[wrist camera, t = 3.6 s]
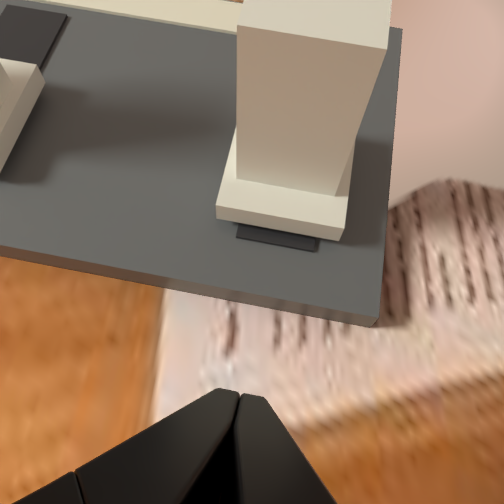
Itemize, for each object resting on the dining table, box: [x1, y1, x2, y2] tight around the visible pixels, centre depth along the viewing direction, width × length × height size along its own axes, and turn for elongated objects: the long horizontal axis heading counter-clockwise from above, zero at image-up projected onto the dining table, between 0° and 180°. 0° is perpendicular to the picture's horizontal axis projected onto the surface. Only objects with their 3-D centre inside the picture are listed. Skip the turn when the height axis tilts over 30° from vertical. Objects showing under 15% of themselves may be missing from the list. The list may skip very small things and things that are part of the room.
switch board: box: [0, 0, 403, 328], centre depth 26 cm, size 18×26×2 cm
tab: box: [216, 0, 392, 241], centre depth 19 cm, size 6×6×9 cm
